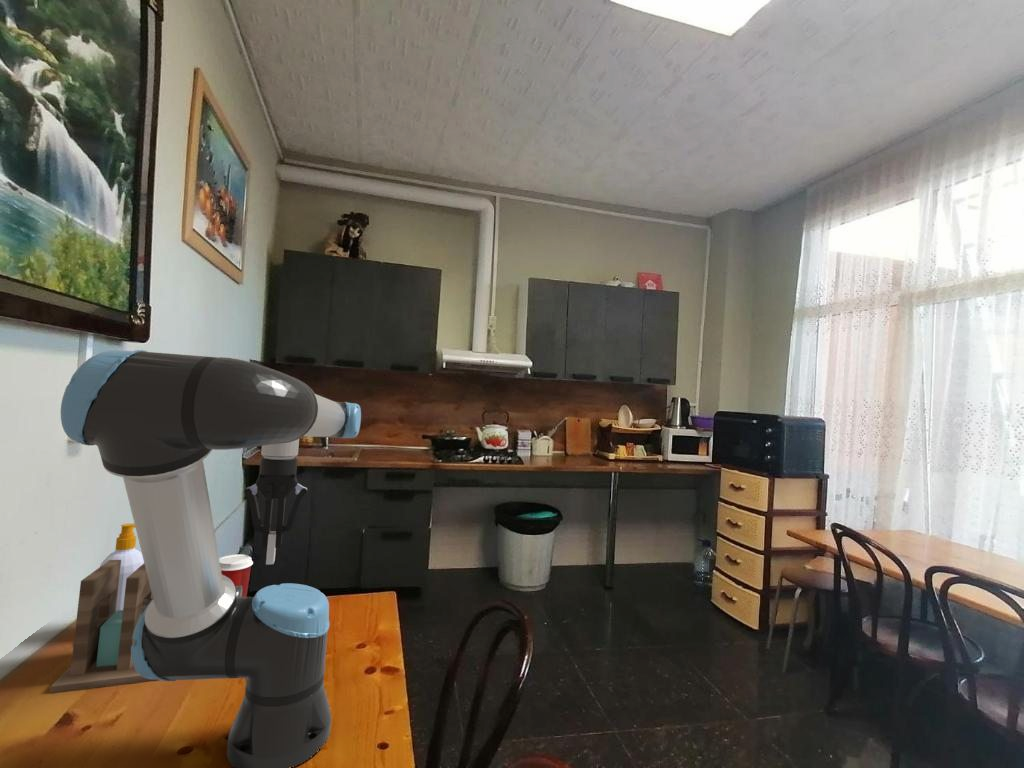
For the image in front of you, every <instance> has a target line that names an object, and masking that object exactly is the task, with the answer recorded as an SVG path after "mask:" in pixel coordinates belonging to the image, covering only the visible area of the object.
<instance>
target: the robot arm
mask: <svg viewBox="0 0 1024 768" xmlns="http://www.w3.org/2000/svg"><path fill="white" fill-rule="evenodd" d="M361 410H362V409H361V406H360V405H359V404H358V403H354V402H347V401H343V402H342V401H334V400H332V399H329V398H328V397H327V398H326V397H323V396H322V395H320V394H319V395H318V394H316V393H315V392H314V391H313V389H312V388H311V386H309V385H308V384H306V383H305V382H304V381H302V380H300V379H298V378H296V377H294V376H290V375H288V374H286V373H283V372H282V371H279V370H275V369H272V368H270V367H267V366H264V365H262V364H259V363H256V362H252V361H248V360H243V359H238V358H232V357H216V356H215V357H214V356H205V355H191V354H179V353H177V354H176V353H168V352H167V353H165V352H153V351H152V352H151V351H147V350H144V349H137V350H107V351H103V352H100V353H97V354H95V355H93V356H91V357H90V358H88V359H86V361H84V362H83V363H82V364H81V365H80V366H79V367H78V368H76V370H75V371H74V373H73V374H72V375H71V378H70V380H69V382H68V384H67V385H66V387H65V390H64V393H63V395H62V399H61V404H60V421H61V422H60V423H61V426H62V429H63V432H64V433H65V434H66V436H67V437H68V438H69V439H70V440H72V441H75V442H76V443H78V444H81V445H85V446H97V449H98V452H99V455H100V459H101V463H102V466H103V468H104V470H105V471H106V472H108V473H109V474H111V475H113V476H115V477H116V476H117V477H120V478H122V479H123V483H124V487H125V490H126V495H127V498H128V502H129V507H130V511H131V514H132V520H133V523H135V531H136V534H137V535H136V537H137V539H138V544H139V548H140V552H141V553H142V556H143V560H144V564H145V568H146V572H147V576H148V580H149V584H150V588H151V592H152V596H153V600H152V601H151V602H150V604H149V605H148V607H147V608H146V609H145V611H144V612H143V613H142V615H141V617H140V618H139V620H138V622H137V624H136V627H135V630H134V633H133V637H132V639H134V644H133V645H132V647H131V658H132V663H133V666H134V668H135V670H136V671H137V672H138V674H139V675H141V676H142V677H144V678H147V679H152V680H153V681H163V682H175V681H191V680H192V681H194V680H220V679H221V680H223V679H245V689H244V691H245V692H244V697H243V698H242V702H241V703H240V706H239V709H238V711H237V714H236V716H235V718H234V721H233V723H232V724H231V728H230V730H229V732H228V733H229V734H228V738H227V746H226V758H227V761H228V763H229V764H230V765H231V767H233V768H234V767H235V768H289V767H293V766H295V767H298V766H299V764H300V765H301V764H303V762H304V763H305V762H307V761H308V760H310V759H311V758H312V757H311V756H313V755H314V754H315V753H316V752H317V751H318V750H319V749H320V748H321V747H322V746H323V745H324V743H325V742H326V741H327V742H328V740H329V738H328V737H330V735H331V728H332V711H331V707H330V703H329V700H328V699H329V698H328V697H327V691H326V688H325V685H324V681H325V680H324V679H325V669H326V659H327V657H326V656H327V648H328V647H327V643H328V636H329V635H328V632H329V629H330V619H329V617H330V602H329V599H328V598H327V596H326V595H325V594H324V593H323V592H321V590H319V589H318V588H315V587H313V586H309V585H306V584H300V583H292V582H291V583H290V582H289V583H288V582H287V583H285V582H284V583H280V584H272V585H267V586H264V587H262V588H261V589H259V590H258V591H257V592H256V593H255V595H254V596H246V597H237V596H236V589H235V586H234V583H233V582H232V581H231V580H230V579H229V578H228V577H226V576H224V575H222V574H221V568H220V562H219V558H220V556H219V549H218V545H217V538H216V537H217V536H216V532H215V525H214V521H213V515H212V513H213V512H212V508H211V501H210V496H209V495H210V493H209V490H208V484H207V477H206V471H205V465H204V464H205V463H204V460H205V459H206V458H207V457H208V456H209V455H210V454H211V452H212V451H213V450H215V451H220V450H221V451H223V450H224V451H225V450H226V451H228V450H238V449H240V450H241V449H248V448H249V449H250V448H255V447H261V452H260V454H261V455H262V457H261V459H260V462H259V464H260V465H259V473H258V478H257V479H256V481H255V483H254V484H253V485H251V486H248V487H246V488H245V489H244V490H243V494H244V495H245V497H247V499H248V503H249V504H248V505H249V509H250V514H251V520H252V526H253V531H254V532H258V533H262V534H261V535H262V543H261V547H262V549H267V550H266V558H265V565H266V566H267V565H274V564H275V560H276V550H277V548H278V549H280V548H281V546H282V542H283V533H284V532H288V531H290V530H292V527H293V523H294V520H295V518H296V514H297V512H298V509H299V506H300V504H301V500H302V498H303V497H304V496H305V495H306V494H307V492H308V487H307V486H303V485H301V484H300V483H299V480H298V478H297V470H298V458H297V457H298V455H299V445H300V444H299V443H300V439H301V438H304V437H310V438H311V437H312V438H314V437H315V438H317V437H318V438H319V437H320V438H335V439H354V438H356V437H357V436H358V435H359V433H360V429H361V421H362V411H361ZM258 490H259V492H261V494H262V496H263V497H264V498H265V502H264V503H265V506H264V516H263V518H264V519H263V524H262V518H261V514H260V508H259V503H258V497H257V494H258ZM293 490H294V491H295V492H294V493H295V495H296V496H295V499H294V502H293V503H292V504H293V505H292V507H291V509H290V513H289V514H288V518H287V521H286V523H285V524H284V520H285V509H286V498H287V497H289V495H290V494H291V493H292V492H293ZM274 499H278V500H277V503H278V504H277V514H276V525H275V526H276V527H275V530H274V531H271V529H272V526H271V525H272V515H273V503H274ZM327 739H328V740H327ZM327 742H326V743H327ZM324 746H325V745H324ZM324 746H323V747H324ZM323 747H322V748H323ZM315 755H316V754H315ZM315 755H314V756H315ZM314 756H313V757H314ZM310 757H311V758H310ZM309 758H310V759H309ZM306 760H307V761H306ZM297 765H298V766H297ZM293 768H294V767H293Z"/></svg>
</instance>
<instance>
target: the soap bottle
mask: <svg viewBox="0 0 1024 768" xmlns="http://www.w3.org/2000/svg"><path fill="white" fill-rule="evenodd" d="M120 526H121V532H120V533H119V535H118V537H117V538H116V540H115V541H116V542H115V549H114V551H113V552H111V553H109V555H107V556H106V557H105V559H104V560H103V561H102V562H101V564H100V566H99V568H100V567H101V566H102V565H104V564H105V563H106V562H108V561H109V560H121V567H120V576H119V585H118V594H117V604H116V611H118V610H123V606H124V597H125V588H126V578H128V577H129V576H130V575H131V574H132V573H133V572H134V571H136V570H137V569H138V568H139V567H140V566H141V565H142V564H144V560H143V556H142V552H141V550H138V549H136V541H137V535H135V532H134V528H135V529H136V527H135V523H134V522H133V523H124V524H121V525H120Z"/></svg>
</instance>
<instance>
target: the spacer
mask: <svg viewBox="0 0 1024 768" xmlns="http://www.w3.org/2000/svg"><path fill="white" fill-rule="evenodd" d="M122 616H123V610H118V611H116V612H115V613H114V614H113V615H112V616H111V617H110V618H109V619H108V620H107V621H106V622H105V623H104V624H103V625H102V626H101V627H100V636H99V645H98V655H97V664H96V667H100V666H109V665H117V662H118V653H119V644H120V634H121V625H122Z"/></svg>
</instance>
